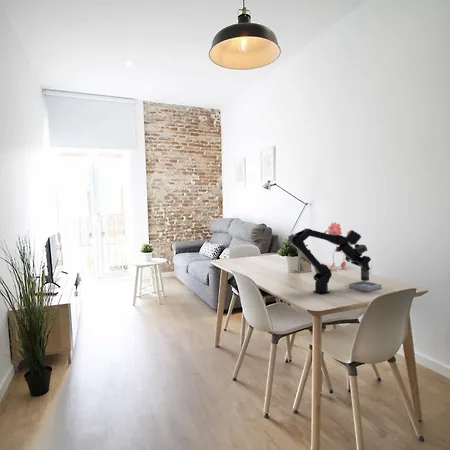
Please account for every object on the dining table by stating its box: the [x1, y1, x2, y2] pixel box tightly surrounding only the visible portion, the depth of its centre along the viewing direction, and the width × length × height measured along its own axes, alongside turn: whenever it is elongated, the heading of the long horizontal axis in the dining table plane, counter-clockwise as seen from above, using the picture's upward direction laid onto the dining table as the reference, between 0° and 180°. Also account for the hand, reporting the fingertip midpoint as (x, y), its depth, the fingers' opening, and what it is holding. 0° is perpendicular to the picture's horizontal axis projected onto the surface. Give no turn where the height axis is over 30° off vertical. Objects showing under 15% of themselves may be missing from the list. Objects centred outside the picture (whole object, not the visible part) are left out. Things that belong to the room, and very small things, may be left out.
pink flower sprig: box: [323, 221, 354, 272], centre depth 244 cm, size 15×26×35 cm, turn 111°
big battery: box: [360, 262, 370, 282], centre depth 191 cm, size 4×4×11 cm
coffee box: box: [297, 249, 312, 274], centre depth 241 cm, size 9×6×16 cm
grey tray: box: [348, 280, 382, 293], centre depth 192 cm, size 12×12×2 cm
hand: (367, 268), depth 191 cm, fingers closed on big battery, 4 cm apart
